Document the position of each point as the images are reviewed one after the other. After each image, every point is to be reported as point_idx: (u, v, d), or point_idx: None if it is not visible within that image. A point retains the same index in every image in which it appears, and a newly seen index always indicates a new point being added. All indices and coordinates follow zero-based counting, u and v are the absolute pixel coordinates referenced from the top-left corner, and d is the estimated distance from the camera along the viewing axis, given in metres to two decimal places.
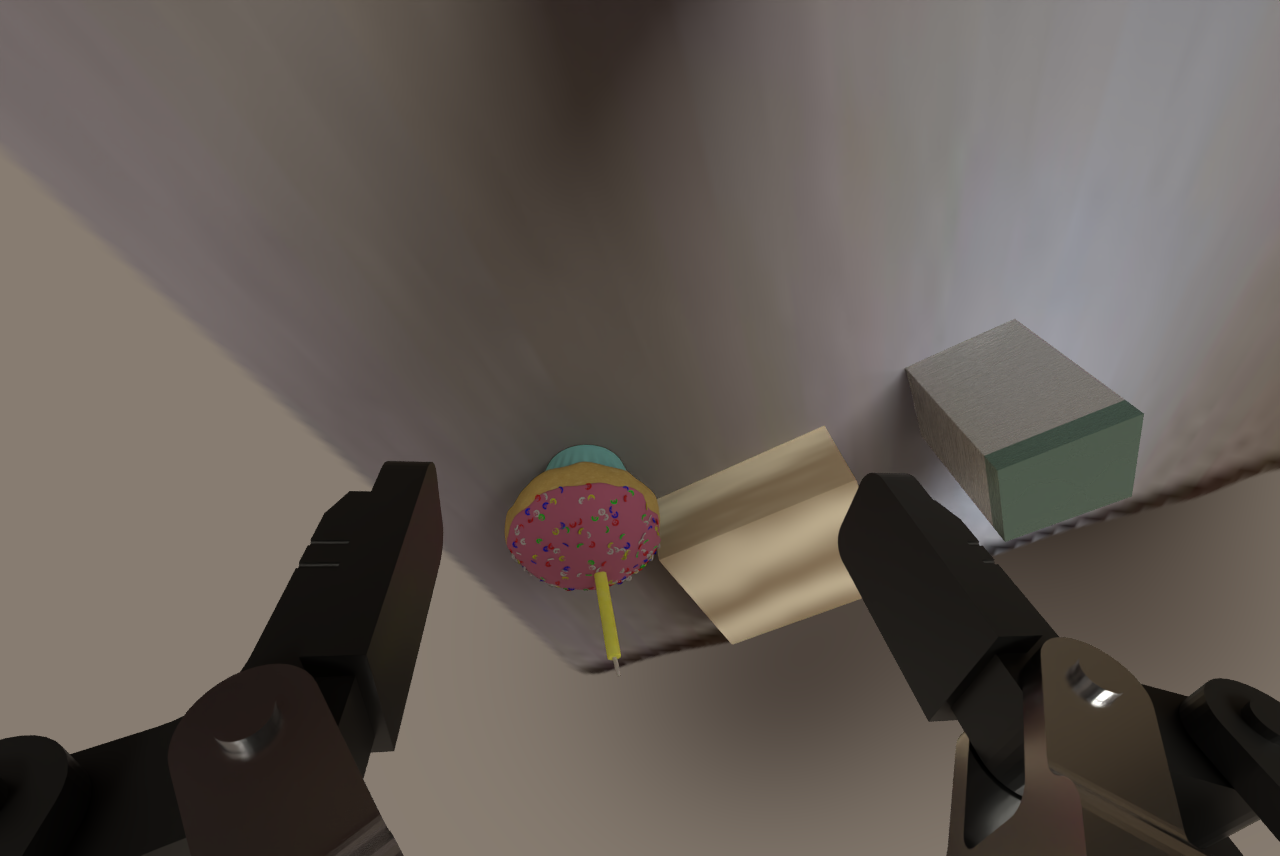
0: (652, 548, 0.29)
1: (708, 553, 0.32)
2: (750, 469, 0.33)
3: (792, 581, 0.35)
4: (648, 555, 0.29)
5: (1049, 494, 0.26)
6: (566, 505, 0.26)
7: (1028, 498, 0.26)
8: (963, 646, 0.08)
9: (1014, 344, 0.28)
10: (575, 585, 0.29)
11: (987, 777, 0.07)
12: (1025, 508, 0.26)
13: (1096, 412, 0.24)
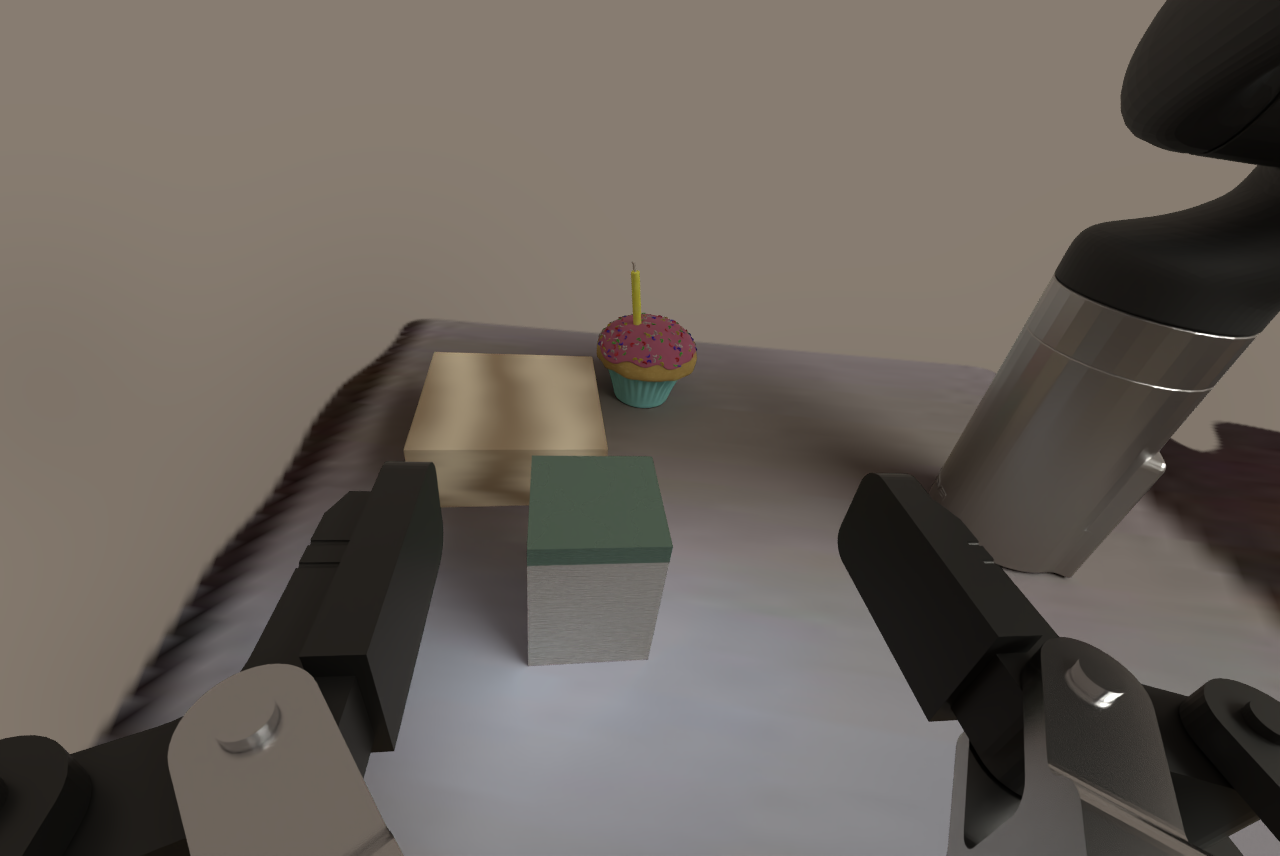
0: (627, 351, 0.42)
1: (580, 373, 0.41)
2: None
3: (496, 396, 0.37)
4: (625, 346, 0.42)
5: (589, 485, 0.25)
6: (690, 341, 0.45)
7: (594, 472, 0.26)
8: (963, 646, 0.08)
9: None
10: (630, 316, 0.46)
11: (987, 777, 0.07)
12: (579, 470, 0.26)
13: None
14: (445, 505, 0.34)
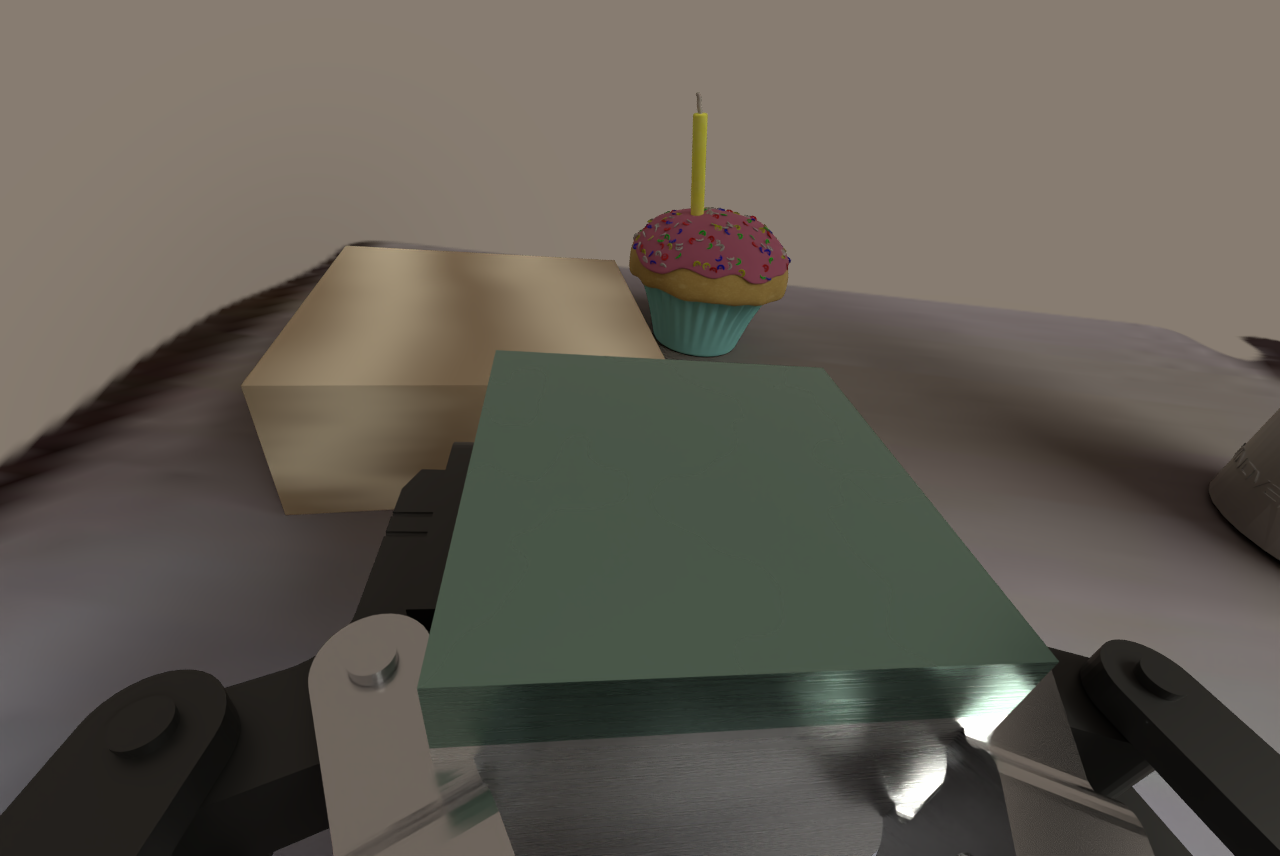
0: (683, 251, 0.25)
1: (600, 278, 0.24)
2: None
3: (453, 304, 0.20)
4: (679, 244, 0.25)
5: (669, 428, 0.08)
6: (781, 246, 0.28)
7: (679, 396, 0.09)
8: None
9: None
10: (684, 209, 0.29)
11: None
12: (633, 388, 0.09)
13: None
14: (352, 507, 0.17)
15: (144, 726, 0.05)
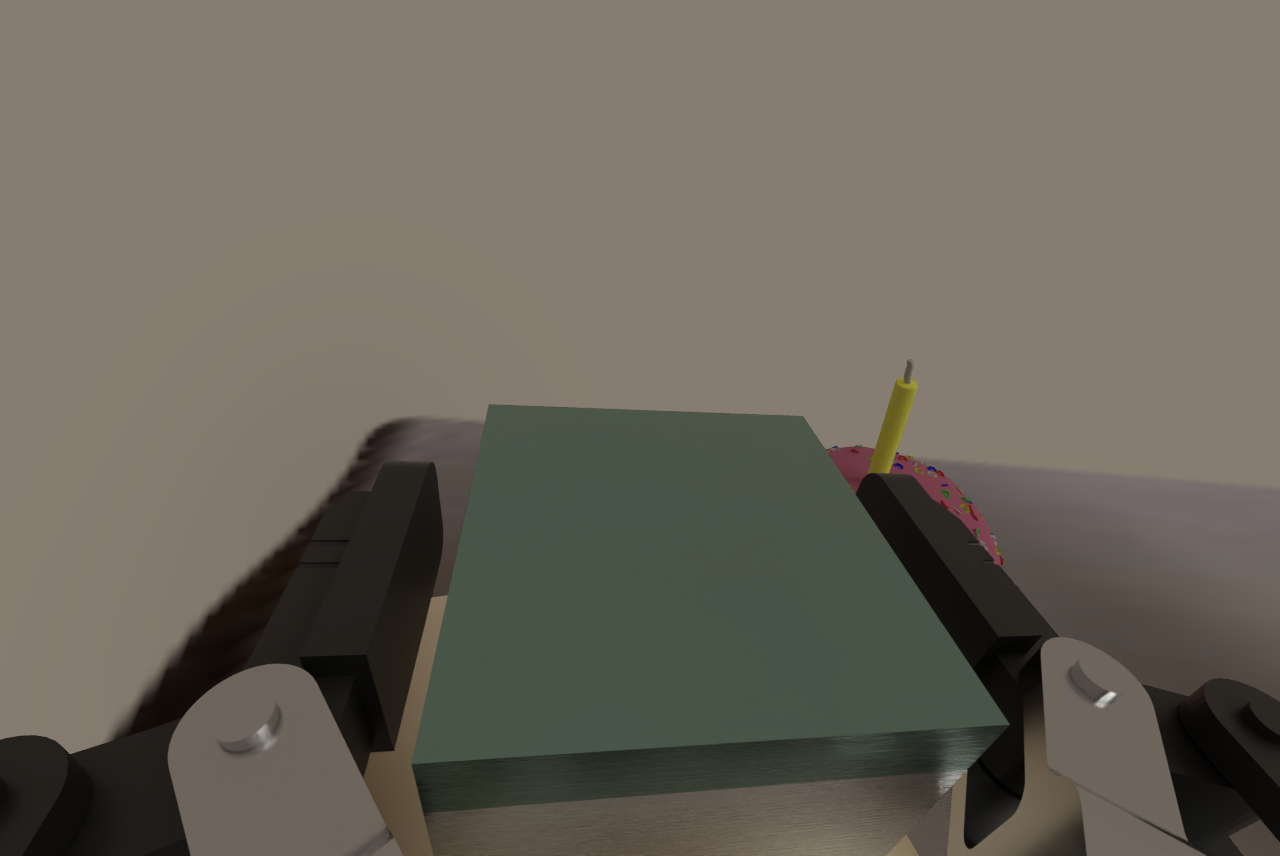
0: None
1: None
2: None
3: None
4: None
5: (653, 486, 0.08)
6: None
7: (663, 450, 0.09)
8: (963, 646, 0.08)
9: None
10: (844, 460, 0.21)
11: (987, 777, 0.07)
12: (620, 443, 0.09)
13: None
14: None
15: None
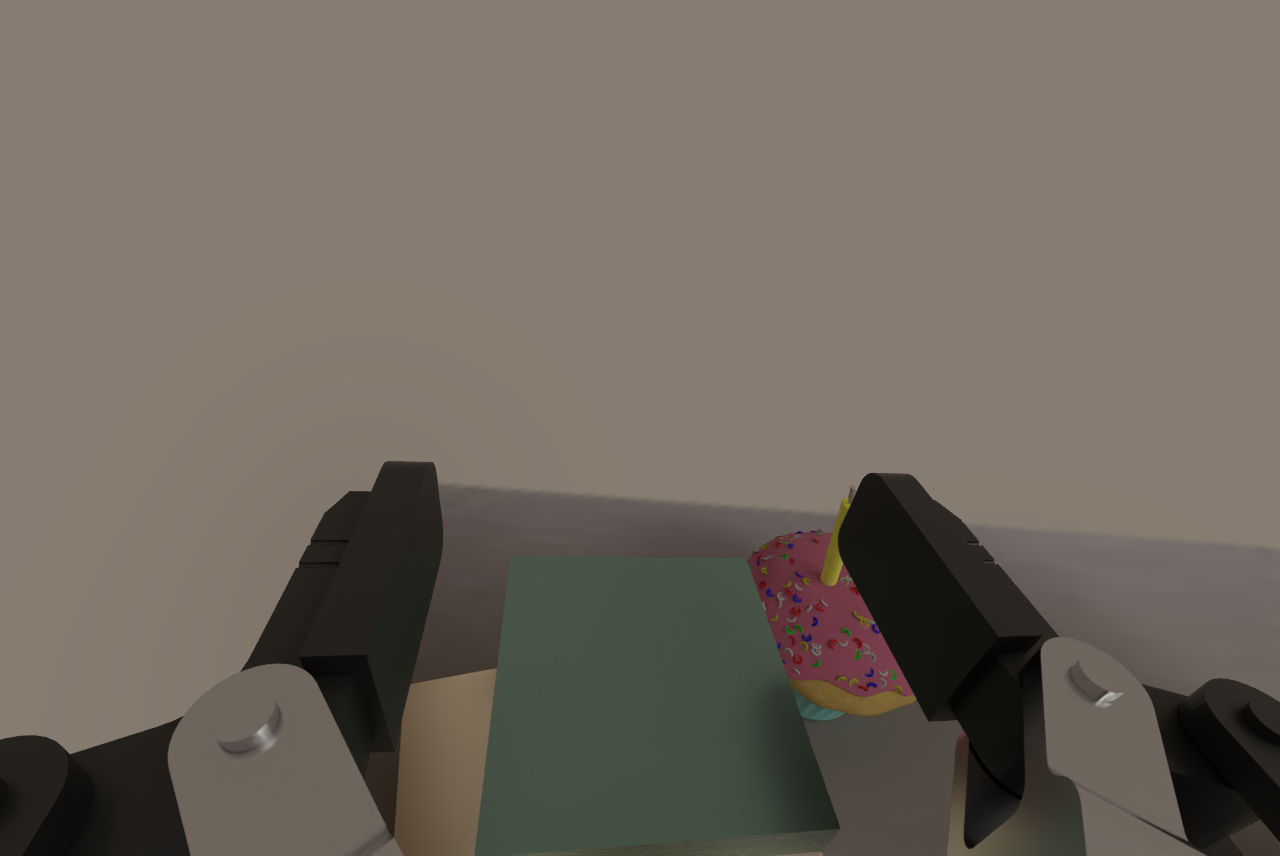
0: (822, 657, 0.20)
1: None
2: None
3: None
4: (817, 646, 0.20)
5: (627, 634, 0.12)
6: None
7: (637, 598, 0.13)
8: (963, 646, 0.08)
9: None
10: (804, 551, 0.24)
11: (987, 777, 0.07)
12: (605, 592, 0.13)
13: None
14: None
15: None
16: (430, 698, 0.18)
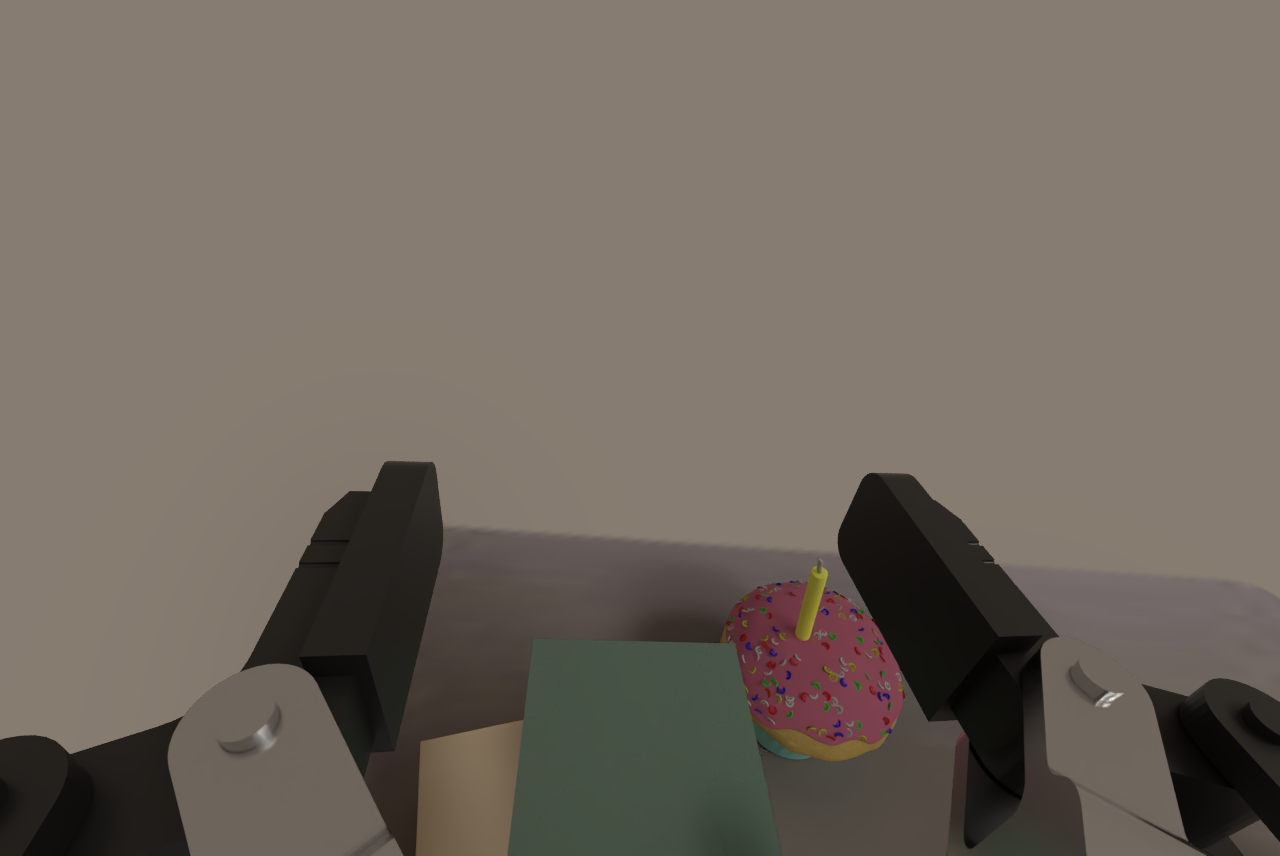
0: (795, 709, 0.22)
1: None
2: None
3: None
4: (790, 698, 0.23)
5: (628, 716, 0.14)
6: (893, 659, 0.25)
7: (638, 682, 0.15)
8: (963, 646, 0.08)
9: None
10: (782, 605, 0.26)
11: (987, 777, 0.07)
12: (612, 675, 0.15)
13: None
14: None
15: None
16: (444, 754, 0.20)
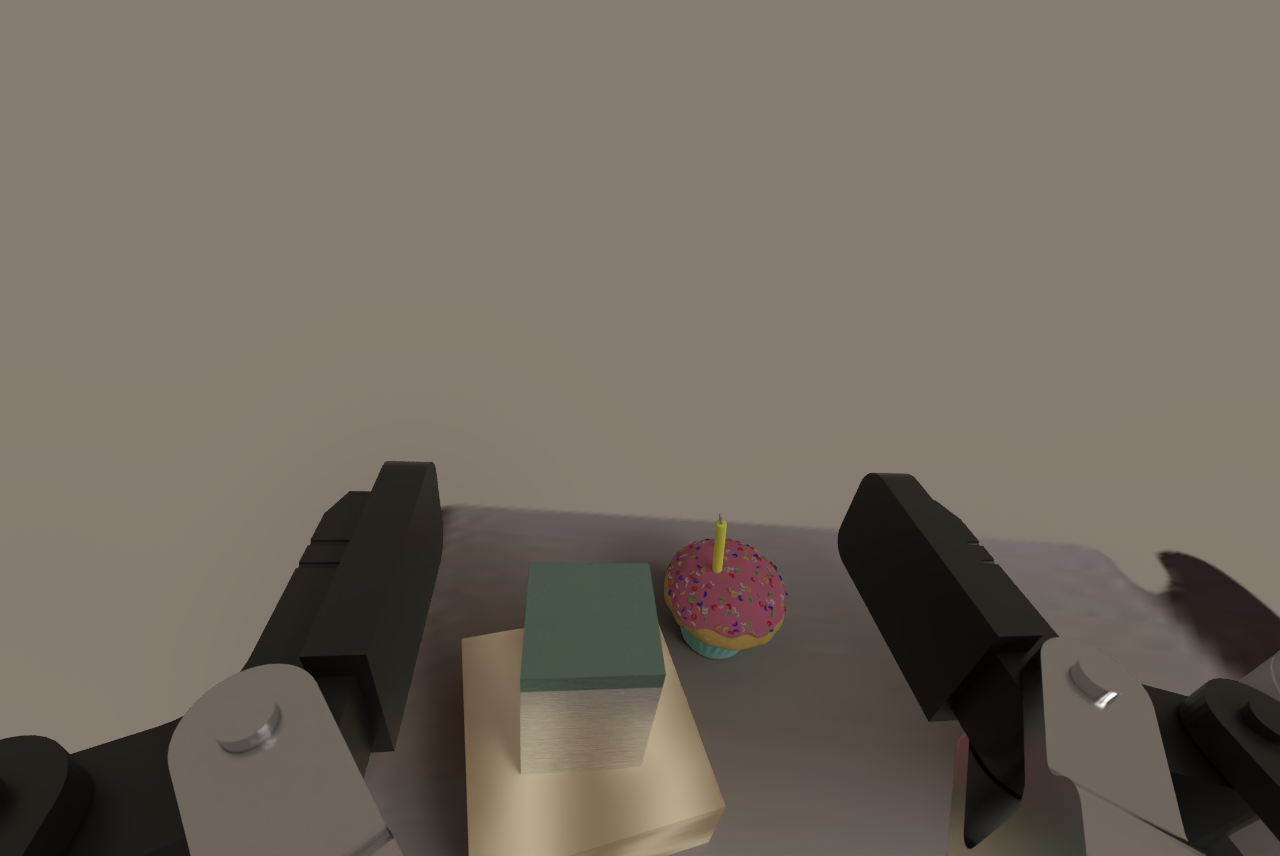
0: (708, 615, 0.34)
1: None
2: None
3: None
4: (705, 608, 0.34)
5: (585, 599, 0.25)
6: (780, 586, 0.36)
7: (591, 583, 0.26)
8: (963, 646, 0.08)
9: None
10: (706, 551, 0.37)
11: (987, 777, 0.07)
12: (576, 580, 0.26)
13: None
14: None
15: None
16: (477, 645, 0.32)
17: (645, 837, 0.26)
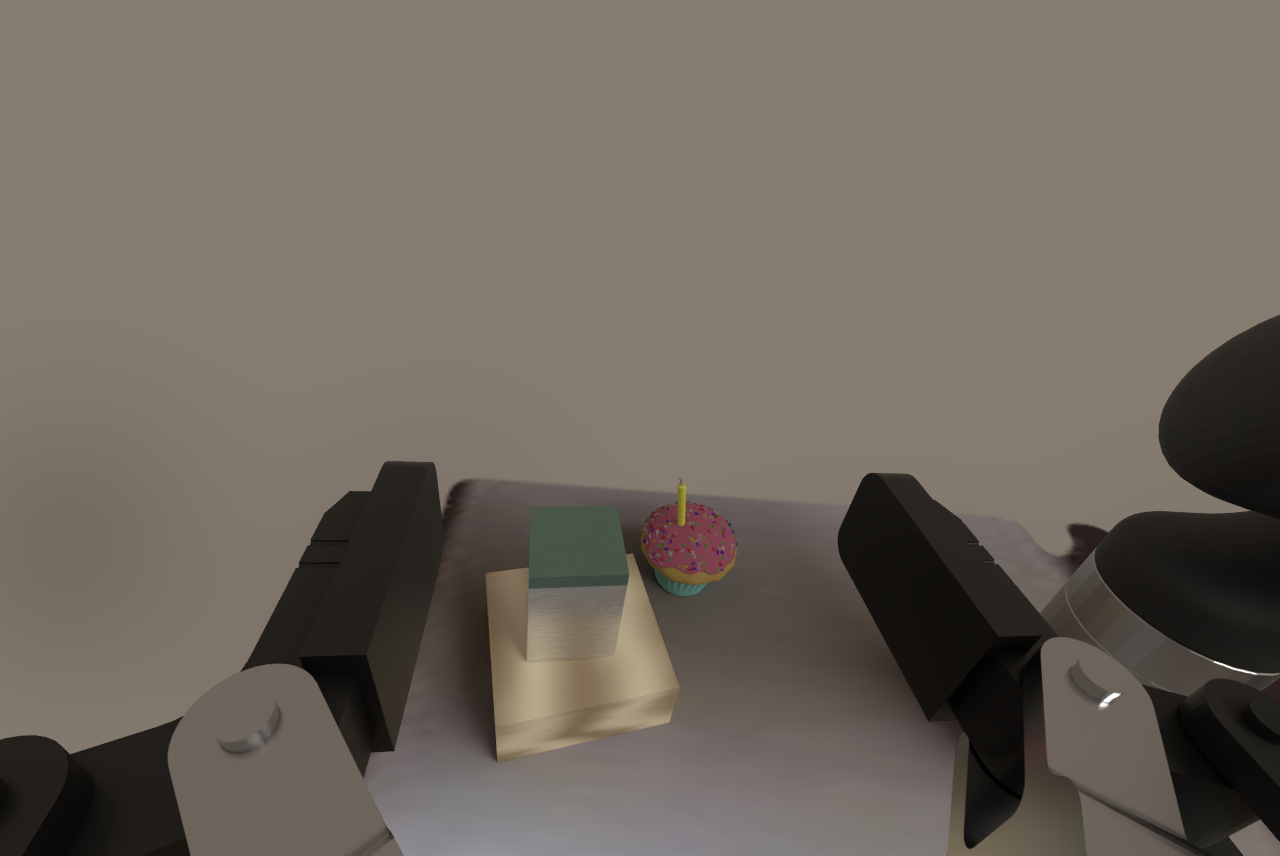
0: (672, 557, 0.44)
1: (628, 580, 0.43)
2: None
3: None
4: (670, 552, 0.44)
5: (571, 530, 0.35)
6: (731, 538, 0.47)
7: (575, 519, 0.36)
8: (963, 646, 0.08)
9: None
10: (673, 510, 0.47)
11: (987, 777, 0.07)
12: (564, 518, 0.36)
13: None
14: (527, 755, 0.36)
15: None
16: (497, 578, 0.42)
17: (620, 706, 0.35)
